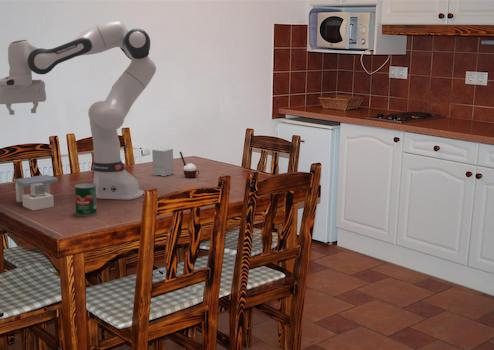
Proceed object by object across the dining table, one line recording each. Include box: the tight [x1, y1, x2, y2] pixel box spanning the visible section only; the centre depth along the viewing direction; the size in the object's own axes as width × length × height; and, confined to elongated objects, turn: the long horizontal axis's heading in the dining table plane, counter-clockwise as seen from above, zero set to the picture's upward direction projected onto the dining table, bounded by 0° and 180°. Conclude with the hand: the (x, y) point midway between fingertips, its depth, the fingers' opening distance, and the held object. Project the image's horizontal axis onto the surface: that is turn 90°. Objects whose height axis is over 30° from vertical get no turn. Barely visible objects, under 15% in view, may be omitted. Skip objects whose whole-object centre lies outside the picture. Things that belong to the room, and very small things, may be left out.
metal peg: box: [29, 183, 45, 198], centre depth 261 cm, size 4×4×9 cm
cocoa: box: [179, 151, 200, 178], centre depth 316 cm, size 10×6×12 cm, turn 57°
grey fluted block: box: [151, 147, 174, 177], centre depth 320 cm, size 7×7×13 cm
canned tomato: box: [74, 182, 98, 217], centre depth 252 cm, size 8×8×11 cm
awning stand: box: [13, 174, 59, 211], centre depth 266 cm, size 18×15×9 cm
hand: (22, 113), depth 275 cm, fingers open, 8 cm apart
